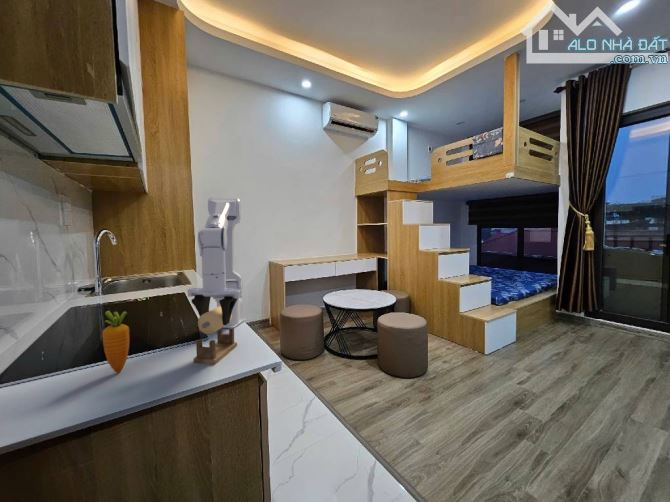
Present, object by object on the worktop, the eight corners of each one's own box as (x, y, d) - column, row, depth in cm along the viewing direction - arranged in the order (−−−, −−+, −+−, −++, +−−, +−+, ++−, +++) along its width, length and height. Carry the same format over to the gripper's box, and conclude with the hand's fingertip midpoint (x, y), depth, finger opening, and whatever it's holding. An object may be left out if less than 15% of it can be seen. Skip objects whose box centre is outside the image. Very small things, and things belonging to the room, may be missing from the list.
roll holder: (193, 362, 71) (192, 341, 71) (218, 344, 82) (217, 326, 82) (215, 364, 70) (214, 342, 70) (237, 345, 81) (236, 327, 81)
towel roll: (194, 335, 71) (194, 314, 71) (216, 322, 81) (216, 303, 81) (214, 337, 70) (214, 315, 70) (234, 323, 80) (234, 305, 80)
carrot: (136, 368, 68) (133, 307, 67) (119, 379, 63) (115, 313, 62) (118, 367, 69) (114, 307, 68) (99, 377, 64) (94, 313, 63)
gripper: (178, 275, 72) (181, 326, 73) (231, 276, 70) (233, 330, 71) (196, 270, 79) (198, 318, 80) (245, 272, 76) (246, 321, 78)
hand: (215, 323), depth 76 cm, fingers closed on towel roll, 5 cm apart
